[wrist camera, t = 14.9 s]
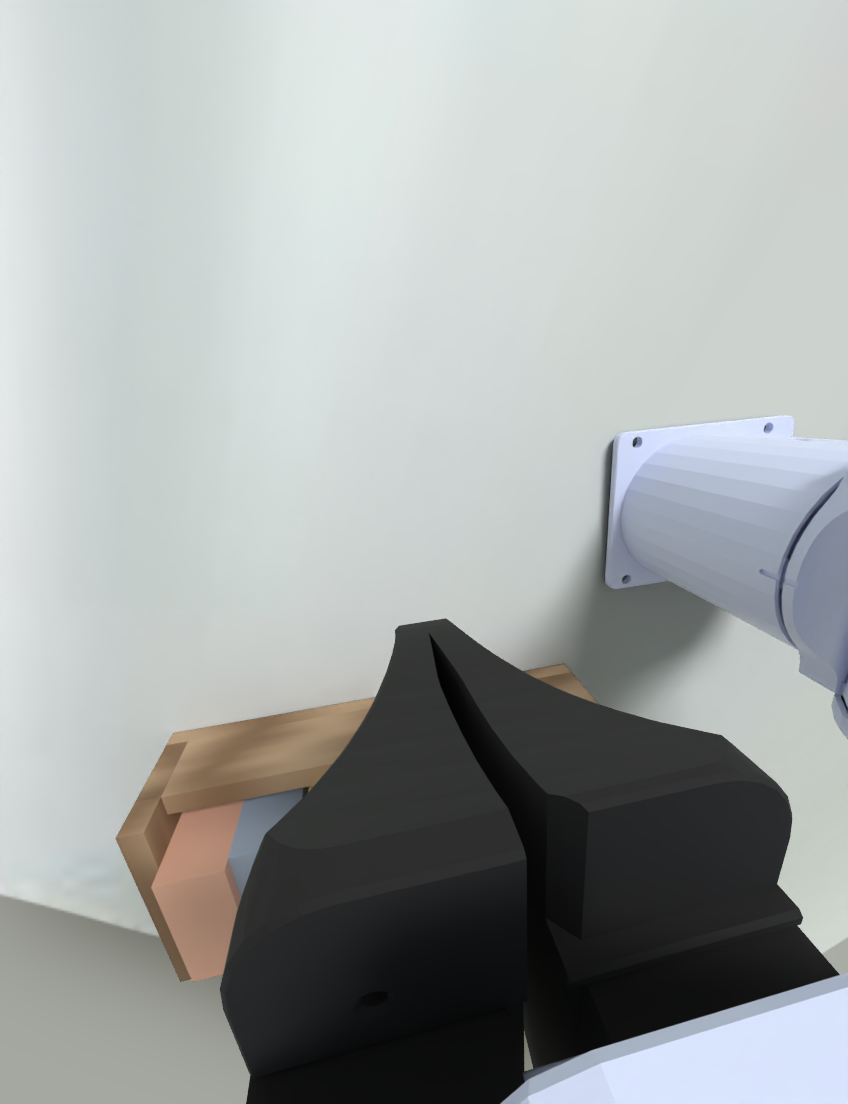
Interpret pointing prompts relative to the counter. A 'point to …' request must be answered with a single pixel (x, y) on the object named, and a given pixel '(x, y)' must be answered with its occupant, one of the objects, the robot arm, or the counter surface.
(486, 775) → the robot arm
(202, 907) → the row books
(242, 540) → the counter surface
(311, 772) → the shelf tray
